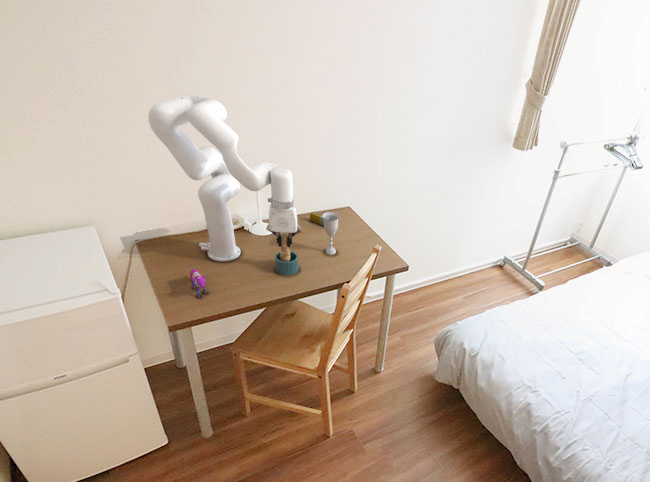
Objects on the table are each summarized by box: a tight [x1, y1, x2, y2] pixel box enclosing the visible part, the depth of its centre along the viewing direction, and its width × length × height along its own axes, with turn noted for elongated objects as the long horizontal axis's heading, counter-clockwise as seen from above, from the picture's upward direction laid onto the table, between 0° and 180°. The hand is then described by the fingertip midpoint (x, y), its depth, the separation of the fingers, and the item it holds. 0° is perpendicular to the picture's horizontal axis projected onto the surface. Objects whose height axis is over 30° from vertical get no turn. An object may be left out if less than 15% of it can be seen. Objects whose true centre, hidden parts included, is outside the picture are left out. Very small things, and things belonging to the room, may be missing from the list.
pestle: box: [279, 232, 291, 262], centre depth 181 cm, size 4×4×11 cm
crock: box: [274, 250, 299, 276], centre depth 186 cm, size 9×9×6 cm
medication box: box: [309, 211, 324, 227], centre depth 220 cm, size 12×3×4 cm, turn 68°
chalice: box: [322, 211, 340, 255], centre depth 197 cm, size 7×7×18 cm
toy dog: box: [189, 268, 207, 299], centre depth 167 cm, size 4×18×10 cm, turn 37°
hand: (284, 244), depth 181 cm, fingers closed on pestle, 2 cm apart
